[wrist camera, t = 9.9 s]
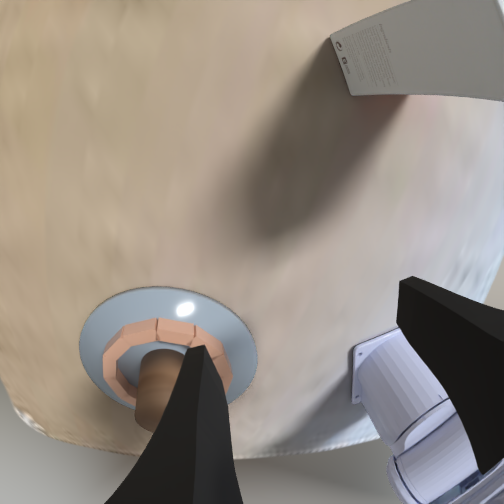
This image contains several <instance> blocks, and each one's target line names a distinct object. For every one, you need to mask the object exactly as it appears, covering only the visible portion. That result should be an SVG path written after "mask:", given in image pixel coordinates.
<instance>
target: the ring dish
mask: <svg viewBox="0 0 504 504" xmlns="http://www.w3.org/2000/svg"><path fill="white" fill-rule="evenodd" d="M204 344H205V346H206V348H207V350H208V352H209V354H210V357H211V359H212V361H213V363H214V365H215V367H216V369H217V371H218V373H219V375H220V377H221V379H222V381H223V386H224V390H225V395H226V400H227V404H229V403H231V402H232V401H234V400H235V399H236V398H238V397H239V396H240V395H241V394H242V393H243V392H244V391H245V390H246V389H247V387H248V386H249V385H250V383H251V381H252V380H253V378H254V375H255V372H256V368H257V351H256V346H255V342H254V340H253V337H252V335H251V332H250V331H249V329H248V328H247V326H246V324H245V323H244V322H243V321H242V320H241V319H240V317H239V316H237V315H236V314H235V313H234V312H233V311H232V310H231V309H229V308H228V307H226V306H225V305H223V304H222V303H220V302H218V301H216V300H214V299H212V298H210V297H208V296H205V295H203V294H200V293H197V292H194V291H190V290H186V289H181V288H174V287H161V286H152V287H141V288H136V289H131V290H127V291H124V292H121V293H118V294H116V295H114V296H112V297H110V298H108V299H106V300H105V301H104V302H102V303H101V304H100V305H98V306H97V307H96V308H95V309H94V310H93V311H92V313H91V314H90V316H89V317H88V319H87V320H86V323H85V325H84V327H83V330H82V332H81V336H80V342H79V350H80V356H81V360H82V363H83V366H84V368H85V370H86V372H87V374H88V375H89V377H90V378H91V379H92V381H93V382H94V383H95V384H96V385H97V386H98V388H100V389H101V390H102V391H103V392H104V393H105V394H106V395H108V396H109V397H111V398H112V399H113V400H115V401H117V402H119V403H120V404H122V405H124V406H126V407H129V408H131V409H134V410H135V407H136V398H137V389H138V381H139V373H140V366H141V360H142V358H143V357H144V355H145V354H147V353H148V352H150V351H152V350H156V349H171V350H175V351H178V352H180V353H182V354H184V355H185V352H186V350H187V349H188V348H192V347H196V346H200V345H204Z"/></svg>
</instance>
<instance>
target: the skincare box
mask: <svg viewBox="0 0 504 504" xmlns="http://www.w3.org/2000/svg"><path fill="white" fill-rule="evenodd" d="M330 38H331V41H332V44H333V46H334V49H335V51H336V54H337V57H338V59H339V62H340V65H341V67H342V70H343V73H344V76H345V79H346V82H347V85H348V88H349V91H350V94H351V95H352V96H360V95H383V94H410V95H444V96H459V97H470V98H479V99H487V100H495V101H502V102H504V0H411V1H408V2H405V3H402V4H400V5H397V6H394V7H392V8H389V9H386V10H384V11H382V12H379V13H377V14H374V15H372V16H369V17H367V18H365V19H362V20H360V21H358V22H356V23H353V24H351V25H349V26H347V27H345V28H343V29H341V30H339V31H337V32H334V33H332V34H331V35H330Z"/></svg>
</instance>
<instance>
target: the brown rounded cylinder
mask: <svg viewBox="0 0 504 504" xmlns="http://www.w3.org/2000/svg"><path fill="white" fill-rule="evenodd" d="M184 356H185V355H184V354H182V353H180V352H178V351H175V350H171V349H156V350H152V351H150V352H148V353H147V354H145V355H144V357H143V358H142V360H141V366H140V373H139V381H138V389H137V398H136V407H135V420H136V422H137V423H138V424H139V425H140V426H141V427H143V428H144V429H146V430H148V431H151V432H155V430H156V428H157V426H158V424H159V421H160V419H161V417H162V415H163V412H164V410H165V408H166V406H167V403H168V401H169V398H170V396H171V393H172V391H173V388H174V385H175V383H176V380H177V377H178V374H179V371H180V368H181V365H182V362H183V359H184Z"/></svg>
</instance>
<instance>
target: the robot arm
mask: <svg viewBox="0 0 504 504" xmlns="http://www.w3.org/2000/svg"><path fill="white" fill-rule="evenodd" d="M396 323H397V325H398V326H399V328H398V329H395V330H393V331H391V332H388V333H386V334H384V335H381V336H379V337H376V338H374V339H371V340H369V341H366V342H364V343H361V344H359V345H357V346H356V347H355V348H354V351H353V381H352V400H351V401H352V403H353V404H357V403H360V402H362V404H363V406H364V407H365V409H366V411H367V413H368V415H369V417H370V419H371V421H372V422H373V424H374V426H375V428H376V430H377V432H378V434H379V436H380V438H381V439H382V441H383V442H384V443H385V444H386V445H388V446H389V447H390V448H391V450H392V452H393V455H392V456H390V457H389V459H388V465H387V476H388V479H389V482H390V484H391V486H392V488H393V491H394V492H395V494H396V496H397V497H398V498H399V500H400V501H401V502H402V503H403V504H504V310H500V309H496V308H493V307H490V306H487V305H484V304H481V303H479V302H476V301H473V300H471V299H468V298H466V297H463V296H461V295H458V294H456V293H453V292H451V291H449V290H446V289H444V288H442V287H439V286H437V285H434V284H432V283H430V282H427V281H425V280H422V279H419V278H417V277H414V276H411V277H409V278H406V279H404V280H401V281H399V297H398V309H397V320H396ZM104 504H243V501H242V497H241V493H240V489H239V485H238V481H237V477H236V473H235V468H234V461H233V453H232V443H231V433H230V423H229V413H228V405H227V400H226V395H225V390H224V386H223V381H222V379H221V377H220V375H219V373H218V371H217V369H216V367H215V365H214V363H213V361H212V359H211V357H210V354H209V352H208V350H207V348H206V346H205V344H204V345H200V346H196V347H192V348H188V349H187V350H186V352H185V356H184V359H183V362H182V365H181V368H180V371H179V374H178V377H177V380H176V383H175V385H174V388H173V391H172V393H171V396H170V398H169V401H168V403H167V406H166V408H165V410H164V412H163V415H162V417H161V419H160V421H159V424H158V426H157V428H156V430H155V432H154V434H153V435H152V437H151V439H150V441H149V443H148V445H147V446H146V448H145V450H144V451H143V453H142V455H141V456H140V458H139V459H138V461H137V463H136V464H135V466H134V467H133V469H132V470H131V472H130V473H129V474H128V476H127V477H126V478H125V480H124V481H123V482H122V483H121V485H120V486H119V487H118V488H117V490H116V491H115V492H114V494H113V495H112V496H111V497H110V498H109V499H108V500H107V501H106V502H105V503H104Z"/></svg>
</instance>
